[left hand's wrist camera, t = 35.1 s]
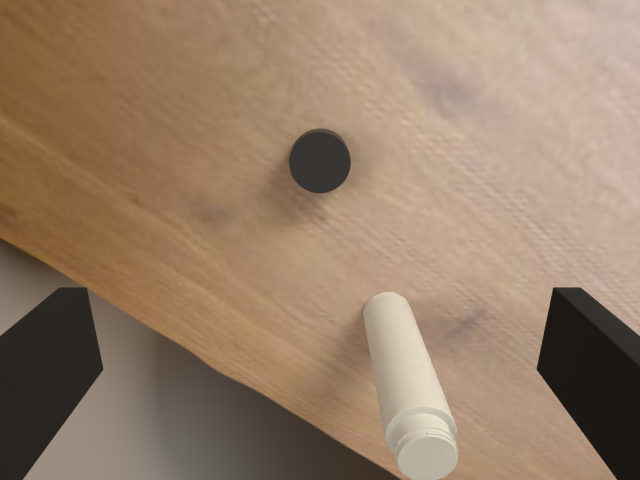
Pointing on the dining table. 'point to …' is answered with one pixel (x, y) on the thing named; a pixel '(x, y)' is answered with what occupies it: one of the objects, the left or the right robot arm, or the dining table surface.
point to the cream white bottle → (409, 391)
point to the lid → (319, 161)
